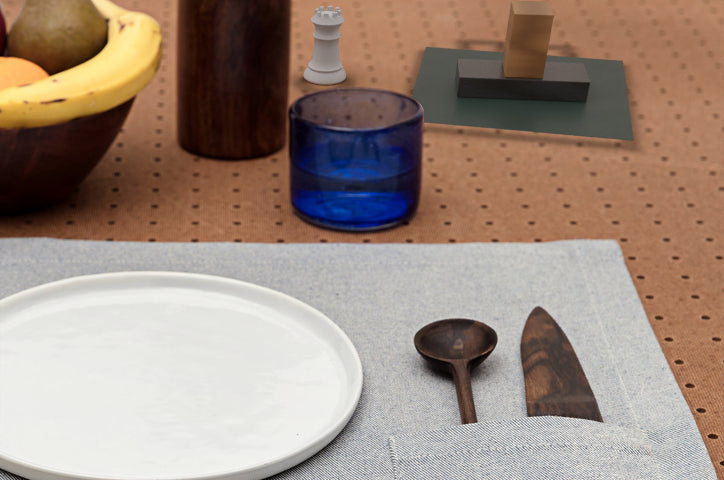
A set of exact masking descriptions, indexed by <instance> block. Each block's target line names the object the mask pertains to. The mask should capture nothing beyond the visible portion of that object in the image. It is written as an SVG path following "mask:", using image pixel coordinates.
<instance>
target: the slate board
mask: <svg viewBox="0 0 724 480" xmlns="http://www.w3.org/2000/svg"><path fill="white" fill-rule="evenodd" d="M503 53H504V51H494V50H493V51H492V50H491V51H490V50H479V49H478V50H477V49H464V48H448V47H437V46H436V47H435V46H425V48H424V52H423V55H422V59H421V63H420V66H419V69H418V73H417V77H416V80H415V84H414V88H413V91H412V95H411V98H413V99H415V100H416V101H418V102H419V103H420V104H421V105H422V107H423V109H424V122H422V124H423V123H426V124H435V125H447V126H448V125H449V126H459V127H471V128H481V129H482V128H483V129H494V130H504V131H505V130H506V131H518V132H529V133H530V132H531V133H541V134H552V135H563V136H572V137H573V136H575V137H585V138H586V137H587V138H599V139H609V140H619V141H621V140H622V141H633V142H634V133H633V126H632V119H631V111H630V103H629V96H628V87H627V82H626V81H627V80H626V75H625V74H626V73H625V66H624V60H618V59H605V58H590V57H576V56H575V57H574V56H565V55H564V56H561V55H560V56H559V55H551V54H550V55H548V54H547V58H546V62H561V63H583V64H584V66H585V69H586V72H587V75H588V77H589V80H590V87H589V92H588V97H587V102H567V101H543V100H518V99H494V98H469V97H457V92H456V81H455V75H456V67H457V59H478V60H502V59H503Z"/></svg>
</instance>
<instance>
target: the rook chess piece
mask: <svg viewBox="0 0 724 480" xmlns="http://www.w3.org/2000/svg"><path fill="white" fill-rule="evenodd" d="M333 8H334V9H333ZM310 21H311V23H312V24H313V25H314V31H313V33H312V36H313V39H314V40H313V48H312V55H311V59H310V61H308V64H307V67H306V68H305V69H304V72H303V75H302V76H303V77H304V80H305V81H307V82H308V83H310V84H313V85H317V86H333V85H337V84H341V83H343V82H344V81H345V80H346V78H347V72H346V70H345V69H344V68H343V63H342V61H341V57H340V38H342V34H341V32H340V27H341V26H342V25H343V23H344V22H345V18H344V16H343V15H342V9H341V8H340V7H339V6H335V7H334V5H327V9H326V10H325V6H324V5H322V6H318V7H316V8H315V9H314V14H313V15H312V17H311V19H310Z"/></svg>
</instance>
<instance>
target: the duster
mask: <svg viewBox="0 0 724 480" xmlns="http://www.w3.org/2000/svg"><path fill="white" fill-rule="evenodd" d="M554 17H555V14H554V12H553V8H552V5H551V2H550V1H545V0H544V1H543V0H542V1H541V0H540V1H539V0H511V1H510V7H509V13H508V20H507V28H506V32H505V38H504V39H505V41H504V47H503V52H504V53H503V59H502V60H478V59H457V67H456V75H455V81H456V92H457V97H469V98H494V99H518V100H543V101H567V102H587V97H588V92H589V87H590V80H589V77H588V75H587V72H586V69H585V66H584V64H583V63H561V62H546V58H547V55H548V52H549V47H550V41H551V35H552V28H553V24H554Z"/></svg>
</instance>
